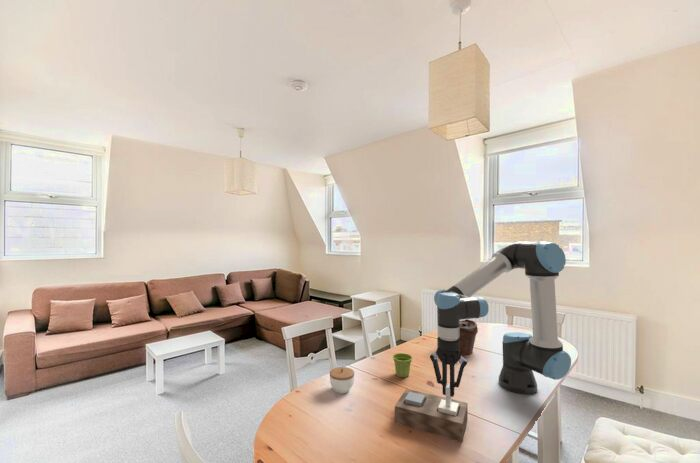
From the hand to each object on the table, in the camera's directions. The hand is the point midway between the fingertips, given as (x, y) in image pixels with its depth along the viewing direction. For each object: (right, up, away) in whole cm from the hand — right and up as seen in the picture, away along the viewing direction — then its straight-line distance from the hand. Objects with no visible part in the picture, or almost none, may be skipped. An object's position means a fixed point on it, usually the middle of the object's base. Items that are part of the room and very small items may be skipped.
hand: (448, 404), depth 109 cm
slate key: (-11, -4, +5) cm, 13 cm away
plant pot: (-9, -8, +40) cm, 41 cm away
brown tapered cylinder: (+30, -9, +71) cm, 78 cm away
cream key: (0, -4, 0) cm, 4 cm away
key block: (-5, -8, +3) cm, 10 cm away
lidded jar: (-38, -8, +25) cm, 46 cm away
